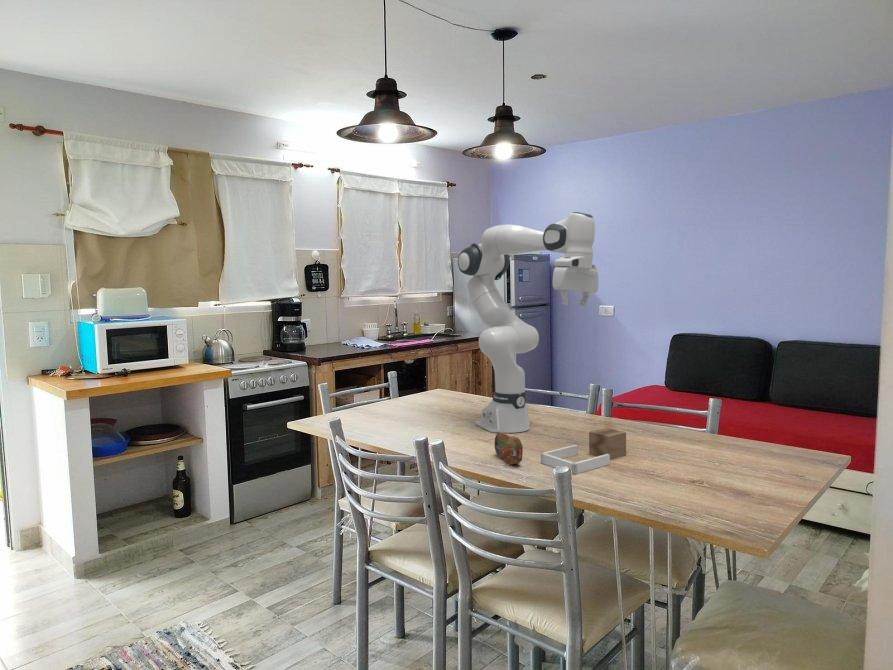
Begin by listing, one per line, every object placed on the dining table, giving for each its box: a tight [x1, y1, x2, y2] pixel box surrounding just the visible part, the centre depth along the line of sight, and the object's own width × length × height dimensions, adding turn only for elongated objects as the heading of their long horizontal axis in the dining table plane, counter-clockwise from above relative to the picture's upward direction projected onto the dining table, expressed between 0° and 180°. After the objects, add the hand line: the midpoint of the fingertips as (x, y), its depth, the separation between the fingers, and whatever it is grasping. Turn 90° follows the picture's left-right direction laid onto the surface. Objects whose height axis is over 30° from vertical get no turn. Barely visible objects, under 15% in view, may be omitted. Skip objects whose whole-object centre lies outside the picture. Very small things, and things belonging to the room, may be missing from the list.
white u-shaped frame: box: [540, 444, 611, 475], centre depth 182 cm, size 14×15×3 cm
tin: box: [494, 432, 524, 465], centre depth 186 cm, size 15×3×8 cm, turn 21°
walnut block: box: [588, 427, 627, 461], centre depth 190 cm, size 8×8×8 cm
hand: (574, 305), depth 195 cm, fingers open, 8 cm apart
